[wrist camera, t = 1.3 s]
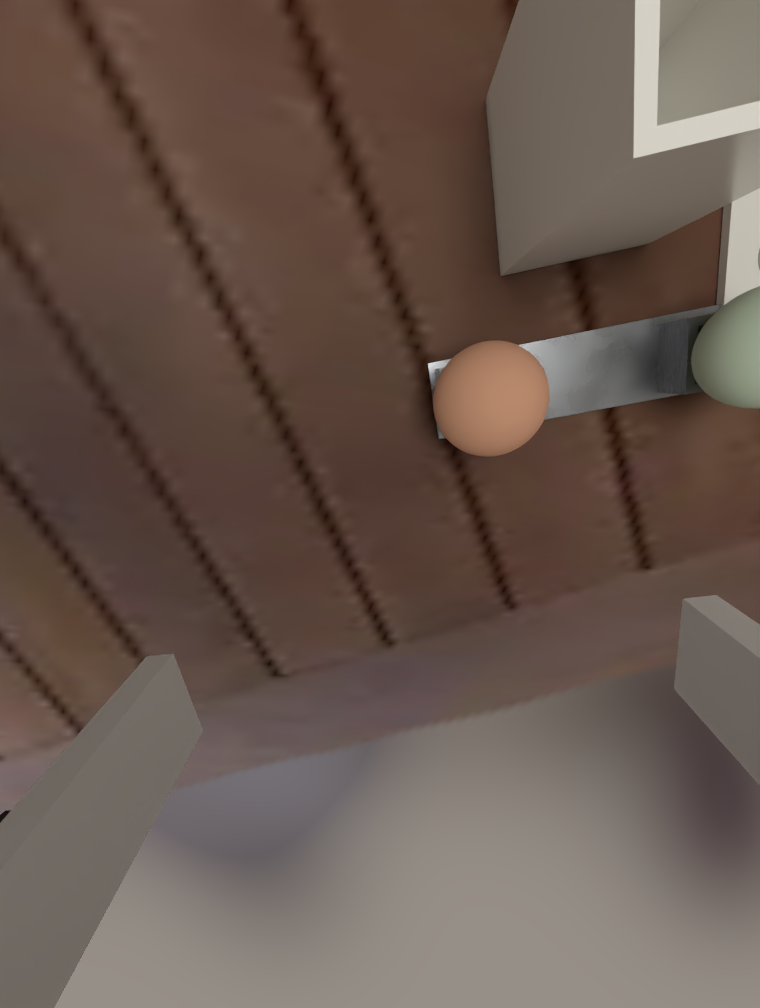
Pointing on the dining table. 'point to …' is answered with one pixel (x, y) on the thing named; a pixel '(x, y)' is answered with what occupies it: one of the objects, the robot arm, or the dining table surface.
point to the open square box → (620, 123)
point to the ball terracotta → (491, 398)
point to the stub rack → (615, 363)
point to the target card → (739, 248)
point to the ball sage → (731, 352)
